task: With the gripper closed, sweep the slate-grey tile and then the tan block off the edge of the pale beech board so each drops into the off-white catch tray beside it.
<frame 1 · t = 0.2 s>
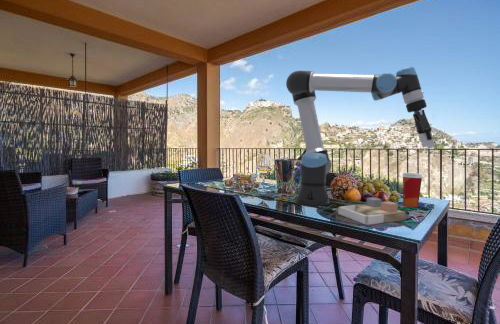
hand: (428, 147, 120), 27 cm above the table, tool tilted 20°, fingers open, 13 cm apart
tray: (359, 218, 103), on the table
tile grey: (373, 205, 111), point 3 cm above the table, touching board
board: (378, 215, 107), on the table
coffee cup: (410, 206, 125), on the table
tan block: (389, 210, 104), point 3 cm above the table, touching board
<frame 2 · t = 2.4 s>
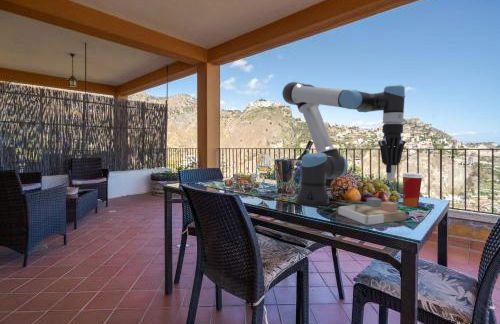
hand: (390, 180, 113), 13 cm above the table, tool pointing down, fingers closed
nothing on the table moved.
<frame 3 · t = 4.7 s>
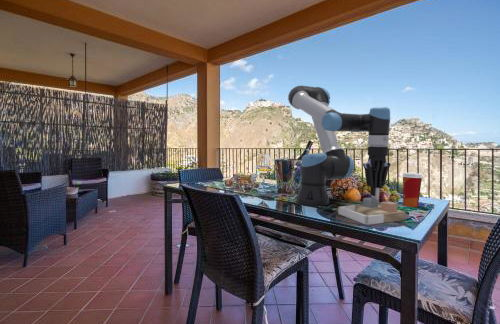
hand: (374, 203, 111), 4 cm above the table, tool pointing down, fingers closed
tile grey: (370, 206, 110), point 3 cm above the table, touching gripper
everything else where it was.
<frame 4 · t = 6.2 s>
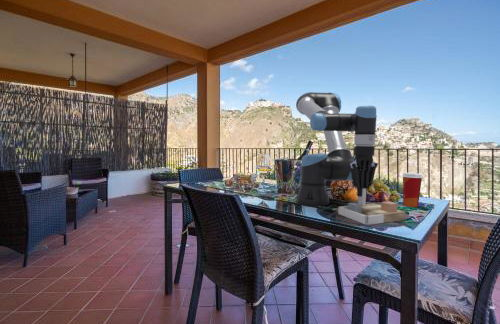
hand: (361, 204, 108), 4 cm above the table, tool pointing down, fingers closed
tile grey: (357, 208, 107), point 3 cm above the table, tilted 90°, touching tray
everything else where it was.
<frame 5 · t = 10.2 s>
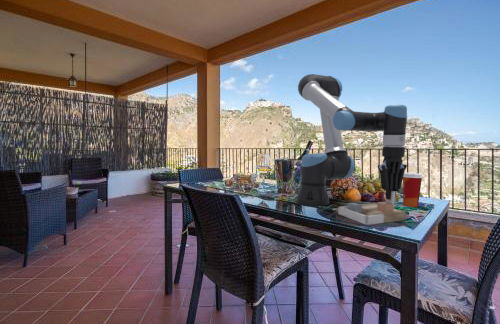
hand: (389, 207, 104), 4 cm above the table, tool pointing down, fingers closed
tan block: (384, 210, 103), point 3 cm above the table
everything else where it was.
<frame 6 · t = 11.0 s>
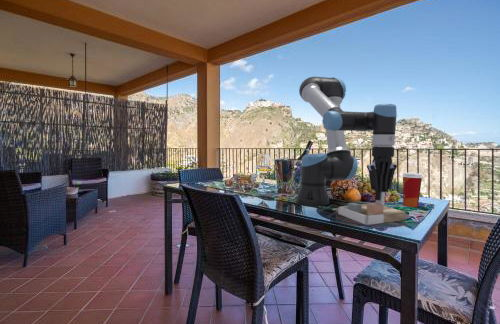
hand: (379, 208, 102), 4 cm above the table, tool pointing down, fingers closed
tan block: (374, 212, 101), point 3 cm above the table, touching gripper
everything else where it was.
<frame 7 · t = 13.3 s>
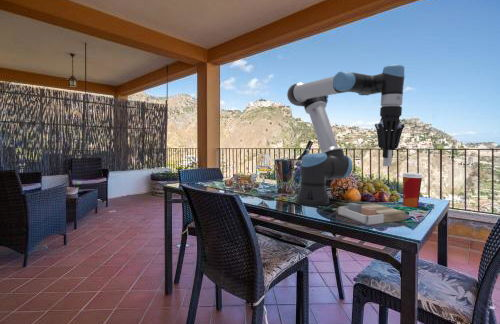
hand: (386, 166, 108), 20 cm above the table, tool pointing down, fingers closed
tan block: (371, 213, 100), point 3 cm above the table, tilted 90°, touching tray
everything else where it was.
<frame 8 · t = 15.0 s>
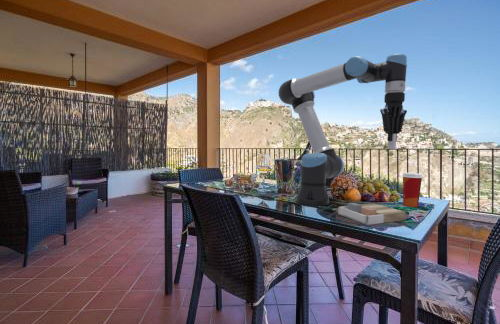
hand: (391, 148, 115), 26 cm above the table, tool pointing down, fingers closed
nothing on the table moved.
at the end: tile grey inside the target area (4.4 cm from its centre), point 2.6 cm above the table; tan block inside the target area (4.3 cm from its centre), point 2.6 cm above the table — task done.
